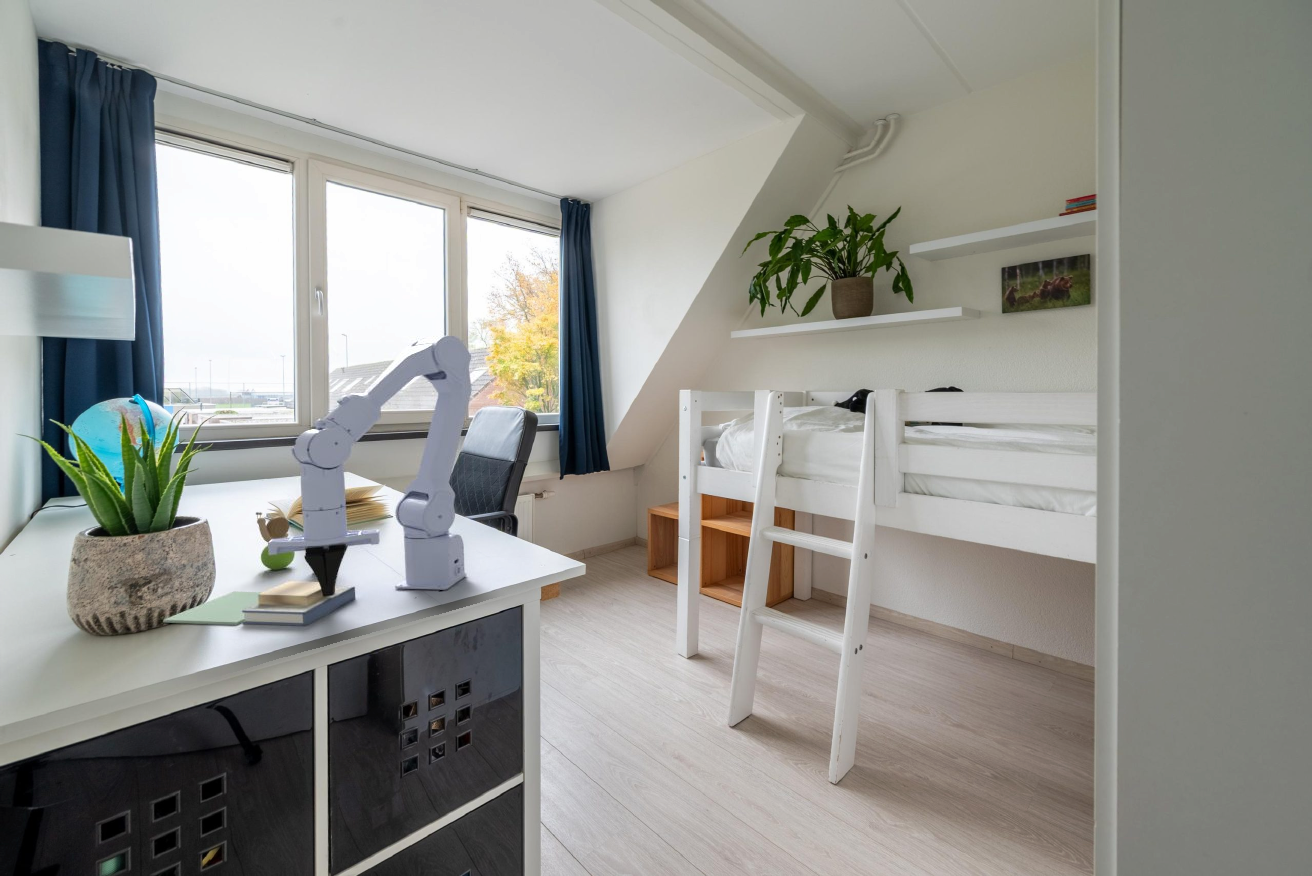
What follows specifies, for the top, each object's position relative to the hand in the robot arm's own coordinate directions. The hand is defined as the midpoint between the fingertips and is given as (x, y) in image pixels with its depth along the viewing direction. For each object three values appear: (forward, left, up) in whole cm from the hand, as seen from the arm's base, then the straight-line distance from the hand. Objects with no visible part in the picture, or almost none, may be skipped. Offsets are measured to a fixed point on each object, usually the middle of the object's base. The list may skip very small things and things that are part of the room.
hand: (329, 594), depth 84 cm
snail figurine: (+26, -19, -3) cm, 32 cm away
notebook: (+5, 0, -3) cm, 5 cm away
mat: (+16, 0, -3) cm, 16 cm away
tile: (+5, 0, -1) cm, 5 cm away
